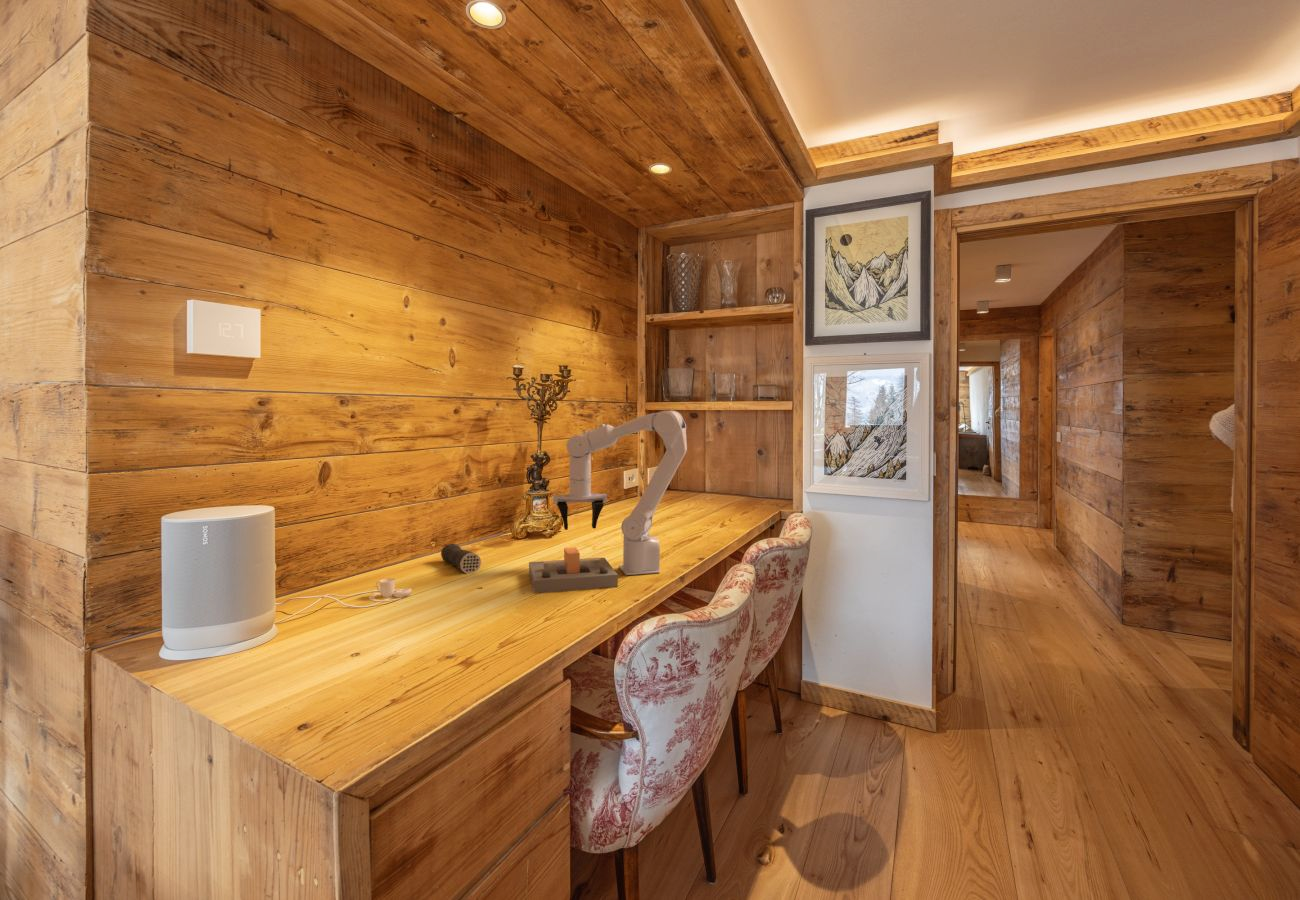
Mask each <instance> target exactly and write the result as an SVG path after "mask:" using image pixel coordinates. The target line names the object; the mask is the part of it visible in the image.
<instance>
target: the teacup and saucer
mask: <svg viewBox="0 0 1300 900" xmlns="http://www.w3.org/2000/svg"><path fill="white" fill-rule="evenodd" d="M378 584H379V586H378ZM379 587H380V588H379ZM375 588H376V590H377V592H374V593H373V594H371V595H369V596H368V600H370V601H372V602H375V603H379V602H380V603H384V602H385V603H386V602H393V601H398V600H400V599H403V598H405V597H406V596H409V595H411V594H412V588H410V587H408V588H407V587H406V588H401V589H395V588H396V579H395V578H388V577H387V578H383V579H380V580H379V581H377V582H376V583H375ZM394 591H396V592H394ZM380 593H381V594H380ZM378 595H381V596H382V598H383V599H382V600H381V599H376V598H375V597H376V596H378ZM393 596H394V597H395V598H396V599H395V598H392V597H393ZM384 598H388V599H386V600H385V599H384ZM389 598H392V599H389Z"/></svg>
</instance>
